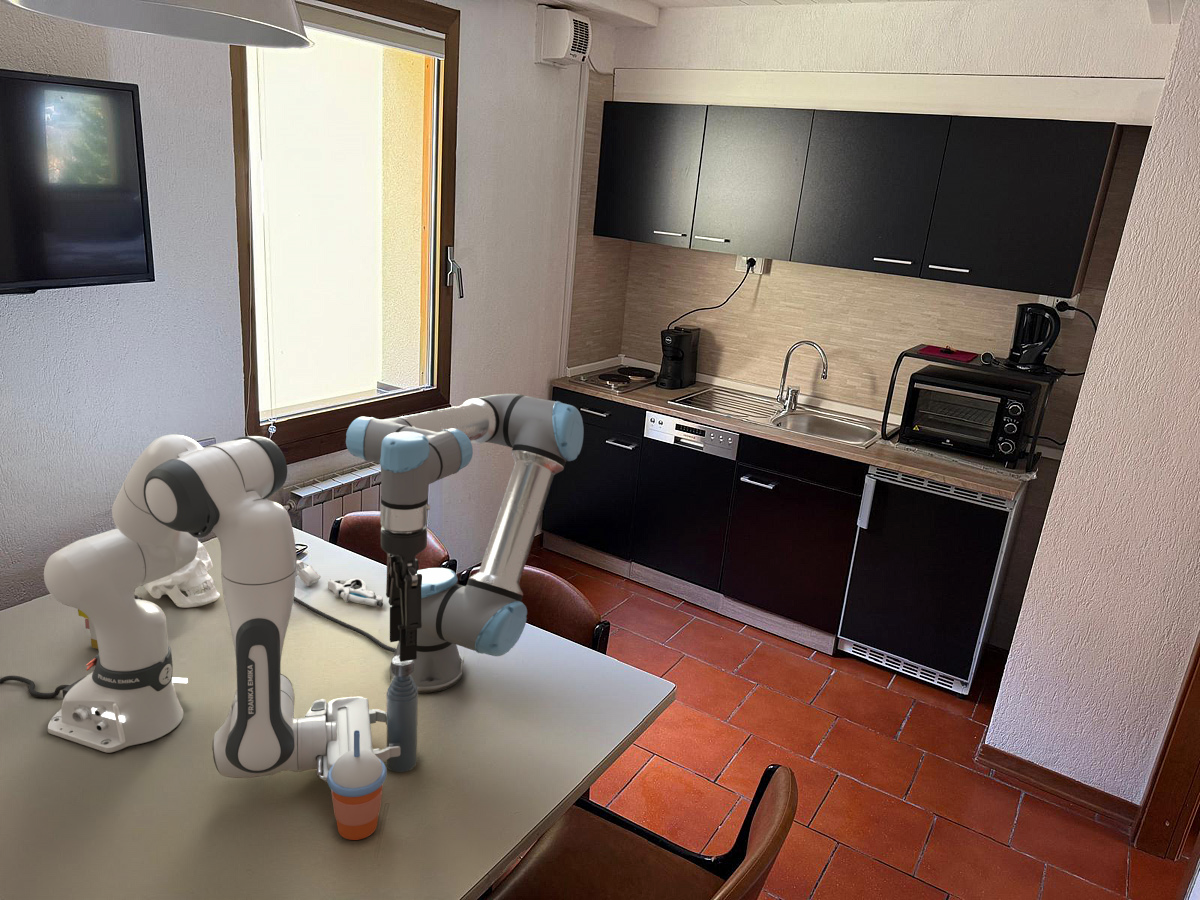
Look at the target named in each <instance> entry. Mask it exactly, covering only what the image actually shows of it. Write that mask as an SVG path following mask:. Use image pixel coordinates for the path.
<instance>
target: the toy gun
mask: <svg viewBox="0 0 1200 900" xmlns="http://www.w3.org/2000/svg"><path fill="white" fill-rule="evenodd" d="M356 586H358V588H356V589H355V588H354V587H356ZM359 587H360V588H359ZM327 589H328V590H329V591H331V592H332V593H334V597H336V599H340V598H342V599H343V601H344V602H345V603H349V602H352V603H356V604H359V605H367V606H371V607H374V608H377V607H380V608H382V607H383V606H384V602H383V601H384V597H383V596H381V595H379V594H376V592H375V591H372V590H371V589H370V590H368V588H367V585H366V583H365V581H363V580H362V579H360V578H353V579H352V578H351V579H342V580H341V579H340V580H339V579H338V580H334V579H328V581H327Z"/></svg>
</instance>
